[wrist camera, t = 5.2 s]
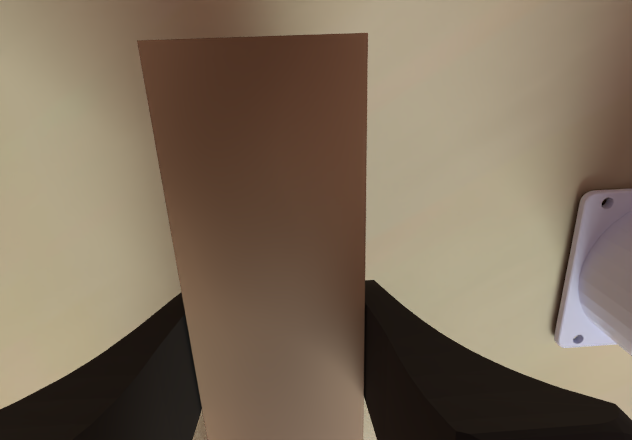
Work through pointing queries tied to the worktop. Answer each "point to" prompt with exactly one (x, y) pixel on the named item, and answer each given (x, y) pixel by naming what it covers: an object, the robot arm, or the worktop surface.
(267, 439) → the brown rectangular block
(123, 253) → the worktop surface
